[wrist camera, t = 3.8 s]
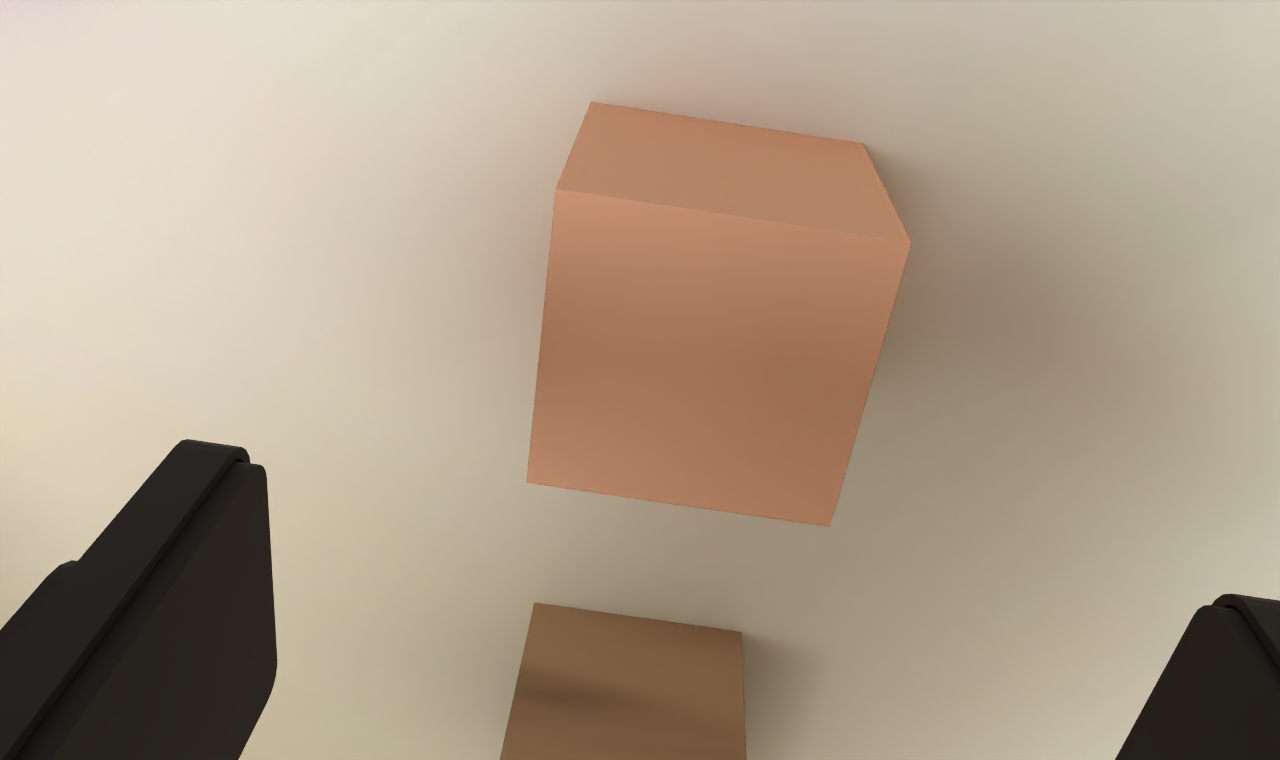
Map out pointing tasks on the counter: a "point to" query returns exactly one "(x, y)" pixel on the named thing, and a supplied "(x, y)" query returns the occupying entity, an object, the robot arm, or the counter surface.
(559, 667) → the walnut block
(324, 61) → the counter surface
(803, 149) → the terracotta block
